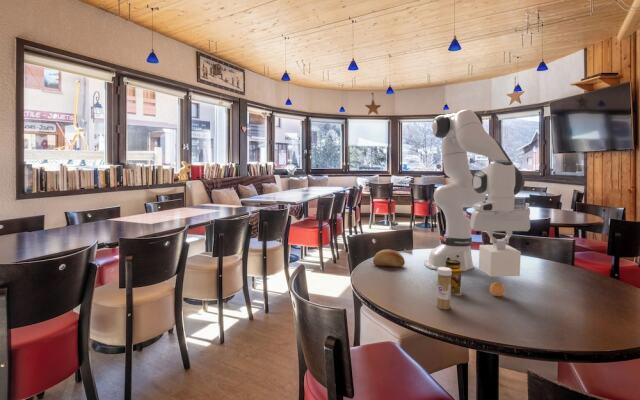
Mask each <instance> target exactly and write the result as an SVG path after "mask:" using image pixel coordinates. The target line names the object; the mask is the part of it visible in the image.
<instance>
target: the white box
mask: <svg viewBox="0 0 640 400" xmlns="http://www.w3.org/2000/svg"><path fill="white" fill-rule="evenodd" d="M521 256H522V252H521V251H520V250H518V249H516V248H515V247H512V246H510V245H509V244H507V243H506V241H505V240H503V238H496V243H492V244H479V253H478V268H479V269H480V270H481V271H482V272H484V273H485V274H487V275H488V276H489V277H520V275H521V274H520V273H521V272H520V271H521Z"/></svg>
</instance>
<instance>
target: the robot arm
mask: <svg viewBox="0 0 640 400" xmlns="http://www.w3.org/2000/svg"><path fill="white" fill-rule="evenodd" d="M483 122H484V121H483V116H482V115H481V114H480V112H476V111H475V112H474V111H473V110H471V109H462V110H460V111H457V112H455V113H447V114H440V115H437V116H435V117H434V118H433V121H432V127H431V128H432V130H431V131H432V134H433V135H434V136H435V138H439V139H441V140H442V142H441V155H442V165H443V171H444V174H445V175H446V176H447V177H449V178H450V179H451V180H452V182H453V184H452V183H451V184H448V183H447V184H444V185H443V184H442V185H440V186H437V187H436V188H435V190H434V193H433V201H434V203H435V204H436V206H438V207H439V208H440V209H441V211H442V212H443V214H444V215H443V216H444V218H445V229H446V230H445V233H446V234H445V235H444V236H443V235H440V236H439V237H438V240H440V241H441V244H439V245H437V246H436V247H435V248H433V249H432V250H431V251H430V252H429V255H428V259H425V260H424V261H423V264H424V266H425V267H426V268H427V269H431V270H436V271H437V270H438V268H439V267H445V264H446V260H458V261H460V268H461V272H468V271H469V270H471V269H474V267H475V266H474V262H473V258H472V257H473V256H472V247H473V238H472V231H474V232H486V234H487V236H488V237H489V242H490V243H491V244H494V243H496V239H497V238H496V237H494V235H493V234H494V232H505V233H506V235H505V237H502V239H503V240H505V241H506V244H509V242H510V238H511V237H512V236H513V232H529V230H530V229H531V219H530V216H531V210H530V208H529V206H527V205H525V204H524V205H523V204H521V205H519V204H515V203H516V202H515V198H516V196H517V194H519V193H520V192H521V191H522V190H523V188H524V187H525V182H526V181H525V177H524V174H523V173H522V172H521V170H520V169H518V168H517V167H516V165H515V164H514V162H513V161H512V160H511V159H510V157H509V155H508V154H507V153H506V151H505V150H504V148H503V146H502V145H501V144H500V142H498V141H497V140H496V139H495V138H494V137H492V136H491V135H490V134H489V133H488V132H487V131H486V130H485V128H484V126H483V124H484V123H483ZM468 153H469V154H470V153H472V154H475V155H476V154H477V155H479V156H483V157H486V158H488V159H489V160H491V161H490V162H489V164H488V166H486V167H485V168H482V169H479V170H477V171H476V172H475V173H474V174H472V172H471V169H470V165H469V160H468ZM486 197H487V198H486ZM463 208H473V209H474V210H473V211H472V213H471V215H470V216H471V217H470V218H469V217H468V216H466V215H465V214H464V211H463Z"/></svg>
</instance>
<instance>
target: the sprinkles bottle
mask: <svg viewBox="0 0 640 400" xmlns="http://www.w3.org/2000/svg"><path fill="white" fill-rule="evenodd" d="M436 272H437V273H436V274H437V288H436V308H438V309H441V310H449V309H450V308H451V296H452V295H451V275H452V269H450V268H447V267H439V268H438V270H436Z"/></svg>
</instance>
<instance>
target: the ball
mask: <svg viewBox="0 0 640 400" xmlns="http://www.w3.org/2000/svg"><path fill="white" fill-rule="evenodd" d="M489 291H490V293H491V294H492V295H493V296H495V297H501V296H503V295H505V291H506V289H505V286H504V284H503V283H501V282H498V281H497V282H496V281H495V282H492V283H491V284H490V286H489Z"/></svg>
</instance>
